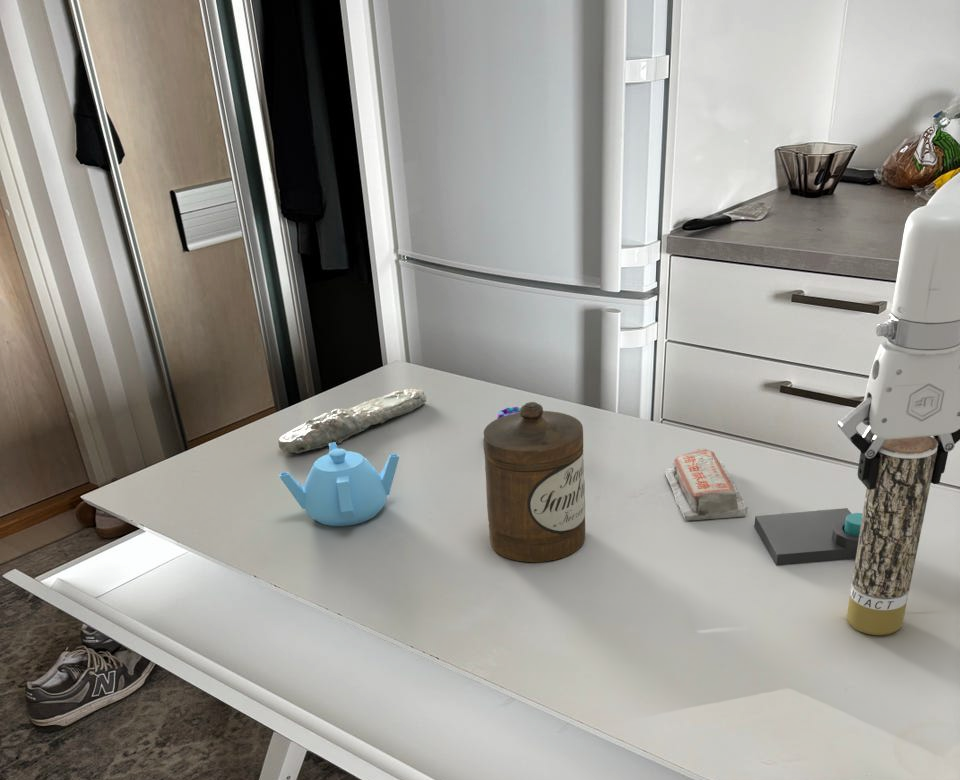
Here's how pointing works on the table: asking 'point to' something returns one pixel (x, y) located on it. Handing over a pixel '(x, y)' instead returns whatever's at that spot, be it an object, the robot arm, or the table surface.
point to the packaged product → (704, 487)
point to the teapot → (343, 487)
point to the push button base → (807, 536)
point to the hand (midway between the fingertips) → (899, 480)
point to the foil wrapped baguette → (350, 421)
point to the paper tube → (891, 535)
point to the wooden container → (535, 484)
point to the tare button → (853, 524)
